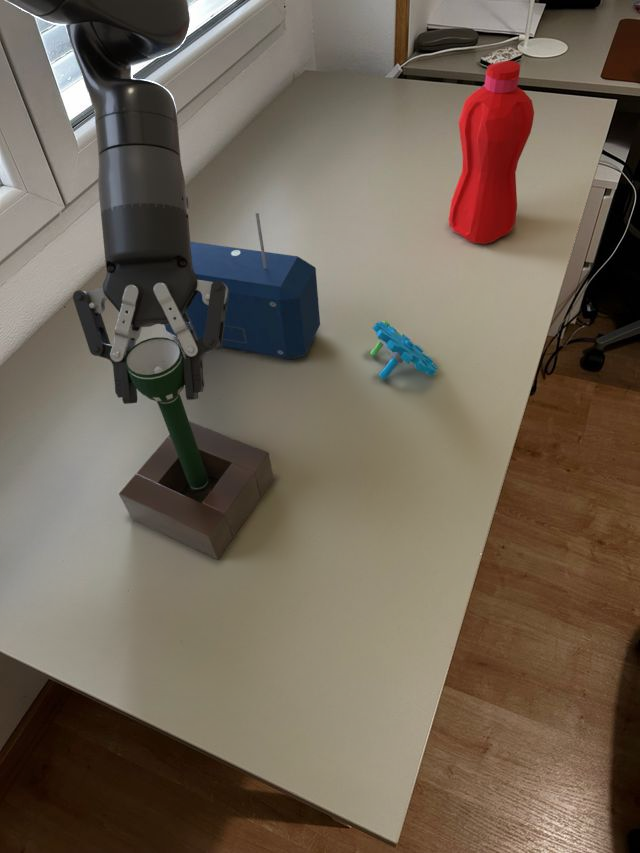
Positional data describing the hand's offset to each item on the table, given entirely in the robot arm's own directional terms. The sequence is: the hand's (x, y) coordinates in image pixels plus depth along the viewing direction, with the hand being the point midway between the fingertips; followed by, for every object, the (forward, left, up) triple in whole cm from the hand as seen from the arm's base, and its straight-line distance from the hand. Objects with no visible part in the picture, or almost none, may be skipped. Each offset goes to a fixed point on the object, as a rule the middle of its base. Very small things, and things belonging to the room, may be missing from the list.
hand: (161, 400), depth 59 cm
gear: (+30, -11, -19) cm, 37 cm away
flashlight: (+2, +1, -16) cm, 17 cm away
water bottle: (+65, -9, -19) cm, 69 cm away
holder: (+1, +1, -18) cm, 19 cm away
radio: (+27, +12, -19) cm, 35 cm away
